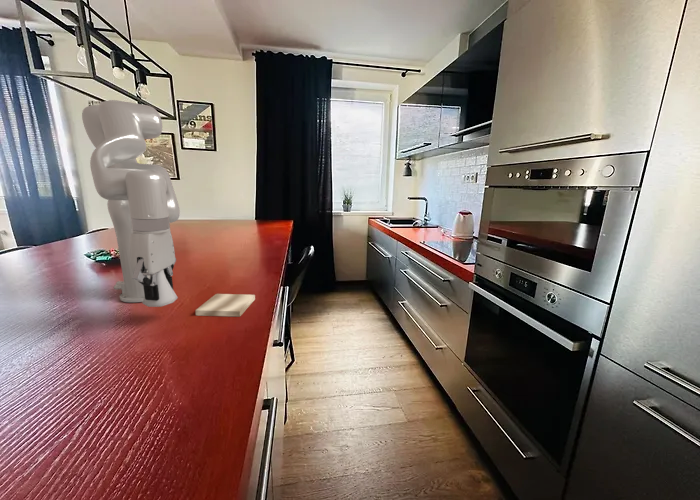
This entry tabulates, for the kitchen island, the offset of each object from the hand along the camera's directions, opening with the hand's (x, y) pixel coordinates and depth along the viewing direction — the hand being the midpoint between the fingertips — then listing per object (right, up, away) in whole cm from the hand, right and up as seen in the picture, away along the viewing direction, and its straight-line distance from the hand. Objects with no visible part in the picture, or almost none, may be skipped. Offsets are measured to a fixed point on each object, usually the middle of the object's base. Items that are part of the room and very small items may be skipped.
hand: (159, 294), depth 75 cm
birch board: (+13, -5, +10) cm, 17 cm away
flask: (0, -2, +1) cm, 2 cm away
